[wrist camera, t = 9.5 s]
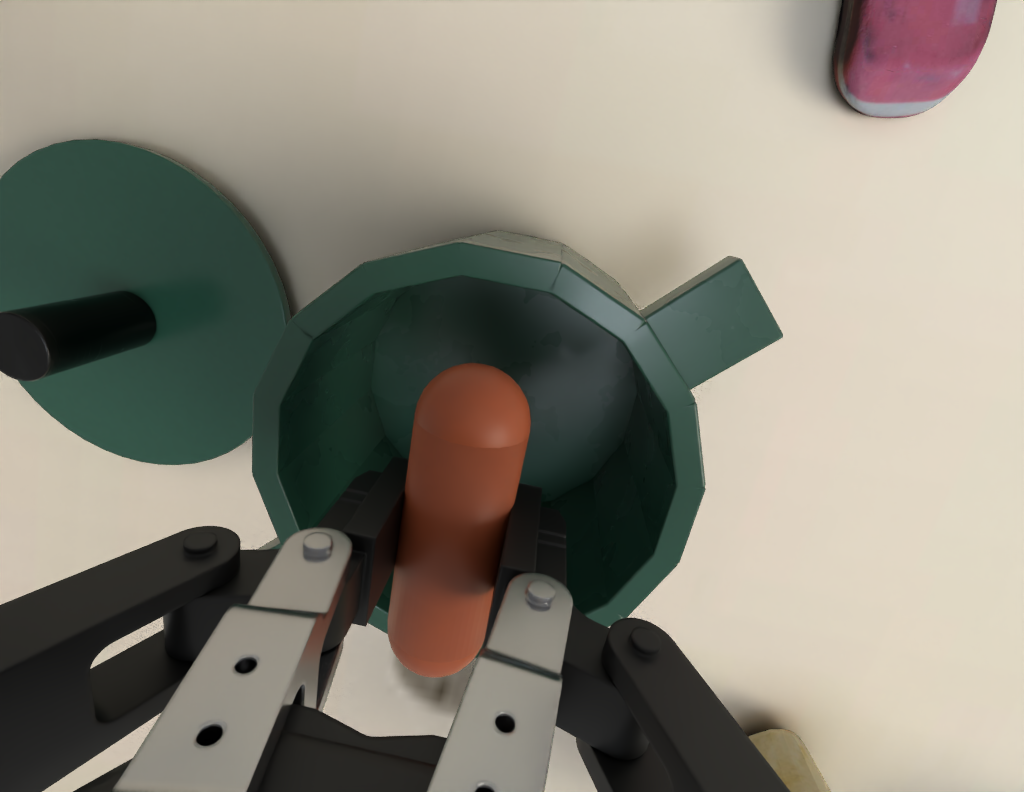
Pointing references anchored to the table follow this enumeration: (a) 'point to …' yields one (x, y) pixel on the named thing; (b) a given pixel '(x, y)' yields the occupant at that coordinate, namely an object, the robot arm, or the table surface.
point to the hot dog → (455, 515)
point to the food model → (790, 760)
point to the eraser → (906, 52)
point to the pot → (542, 378)
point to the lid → (134, 301)
